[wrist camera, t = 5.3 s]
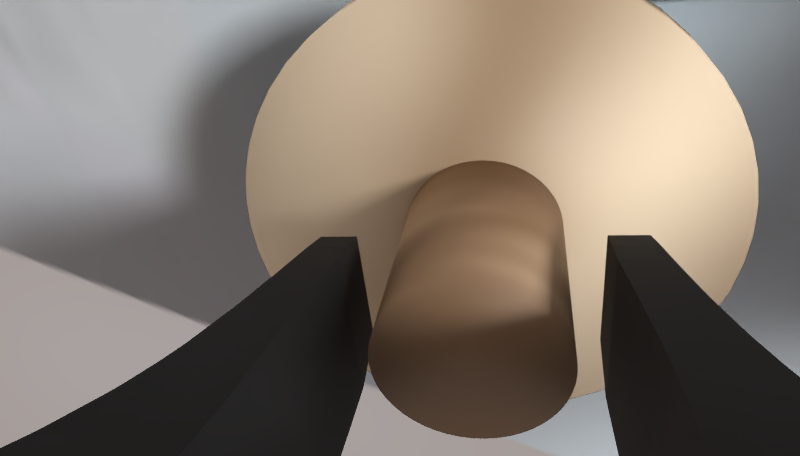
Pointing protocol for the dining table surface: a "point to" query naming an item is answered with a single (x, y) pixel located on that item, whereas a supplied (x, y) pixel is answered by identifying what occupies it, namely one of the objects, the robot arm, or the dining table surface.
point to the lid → (499, 186)
